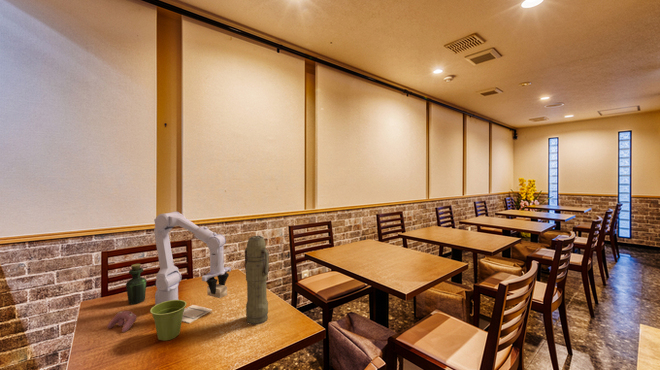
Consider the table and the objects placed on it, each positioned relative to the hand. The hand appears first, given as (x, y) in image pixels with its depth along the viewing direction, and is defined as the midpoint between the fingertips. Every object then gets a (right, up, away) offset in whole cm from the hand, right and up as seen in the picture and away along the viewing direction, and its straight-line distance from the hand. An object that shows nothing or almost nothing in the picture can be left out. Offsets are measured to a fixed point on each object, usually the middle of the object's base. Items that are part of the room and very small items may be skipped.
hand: (217, 291), depth 123 cm
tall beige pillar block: (0, -2, 0) cm, 2 cm away
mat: (-10, -9, -3) cm, 14 cm away
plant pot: (-10, -9, -20) cm, 24 cm away
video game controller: (-33, -9, -14) cm, 37 cm away
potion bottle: (-43, -9, +9) cm, 45 cm away
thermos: (+20, -9, -8) cm, 23 cm away
